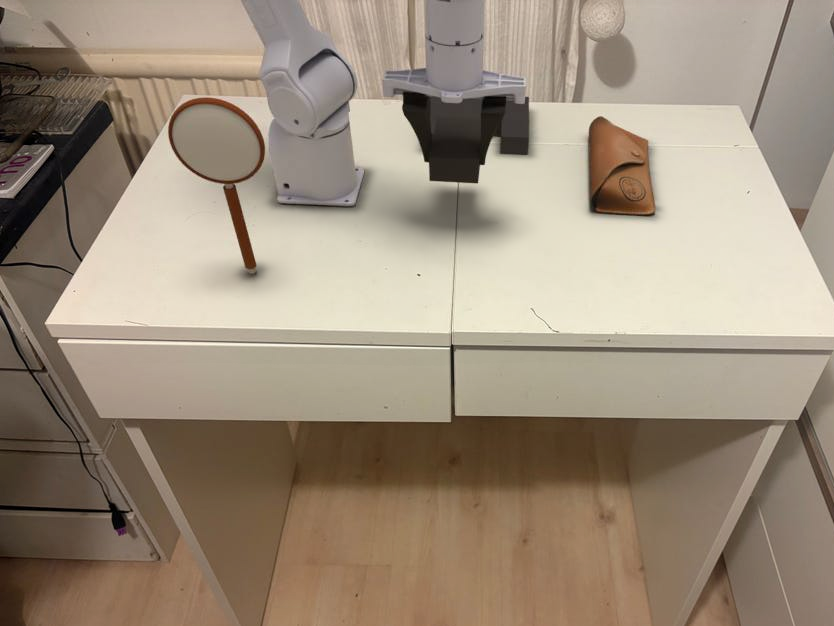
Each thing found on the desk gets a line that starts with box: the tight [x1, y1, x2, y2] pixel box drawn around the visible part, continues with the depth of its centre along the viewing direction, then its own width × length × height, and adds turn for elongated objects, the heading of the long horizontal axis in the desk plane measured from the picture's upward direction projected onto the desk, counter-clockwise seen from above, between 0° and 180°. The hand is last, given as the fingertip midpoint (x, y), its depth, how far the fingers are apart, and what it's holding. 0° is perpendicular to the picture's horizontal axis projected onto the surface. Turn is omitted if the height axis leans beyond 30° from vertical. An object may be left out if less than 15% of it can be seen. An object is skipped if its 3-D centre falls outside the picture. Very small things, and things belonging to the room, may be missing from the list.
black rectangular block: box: [428, 116, 481, 184], centre depth 81 cm, size 5×9×3 cm, turn 177°
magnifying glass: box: [167, 97, 266, 275], centre depth 70 cm, size 9×2×20 cm, turn 90°
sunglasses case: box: [588, 115, 656, 216], centre depth 91 cm, size 18×7×7 cm
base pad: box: [430, 96, 530, 155], centre depth 99 cm, size 14×12×2 cm
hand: (454, 159), depth 79 cm, fingers closed on black rectangular block, 5 cm apart
